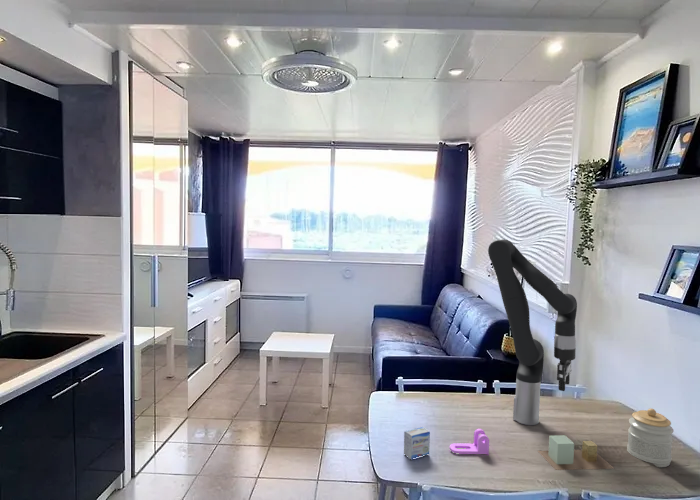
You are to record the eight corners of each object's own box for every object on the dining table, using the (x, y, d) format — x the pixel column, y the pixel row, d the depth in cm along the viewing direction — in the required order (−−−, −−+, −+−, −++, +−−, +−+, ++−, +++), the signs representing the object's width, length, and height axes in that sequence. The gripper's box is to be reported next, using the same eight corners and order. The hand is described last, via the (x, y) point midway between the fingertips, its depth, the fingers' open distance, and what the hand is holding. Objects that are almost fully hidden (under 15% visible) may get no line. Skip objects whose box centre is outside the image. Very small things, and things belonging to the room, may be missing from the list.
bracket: (483, 447, 165) (484, 428, 165) (488, 455, 160) (489, 436, 159) (447, 446, 165) (448, 428, 164) (451, 455, 159) (452, 435, 159)
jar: (654, 471, 151) (658, 419, 150) (618, 452, 163) (621, 404, 162) (679, 463, 156) (683, 413, 155) (642, 445, 168) (645, 399, 167)
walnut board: (555, 474, 148) (555, 469, 148) (537, 454, 160) (537, 450, 160) (614, 472, 150) (614, 468, 150) (592, 453, 162) (592, 449, 162)
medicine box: (410, 461, 155) (411, 436, 154) (403, 454, 159) (403, 430, 158) (429, 455, 158) (430, 431, 158) (421, 449, 162) (422, 426, 162)
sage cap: (556, 464, 152) (557, 443, 151) (548, 455, 157) (549, 435, 157) (573, 463, 152) (574, 443, 151) (564, 455, 158) (565, 435, 157)
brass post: (587, 461, 154) (588, 445, 153) (581, 456, 157) (582, 441, 156) (596, 461, 154) (597, 445, 153) (590, 456, 157) (591, 440, 157)
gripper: (558, 340, 185) (557, 380, 186) (550, 348, 174) (549, 390, 175) (578, 343, 181) (577, 383, 182) (571, 351, 169) (571, 394, 170)
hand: (564, 387), depth 178 cm, fingers open, 8 cm apart
